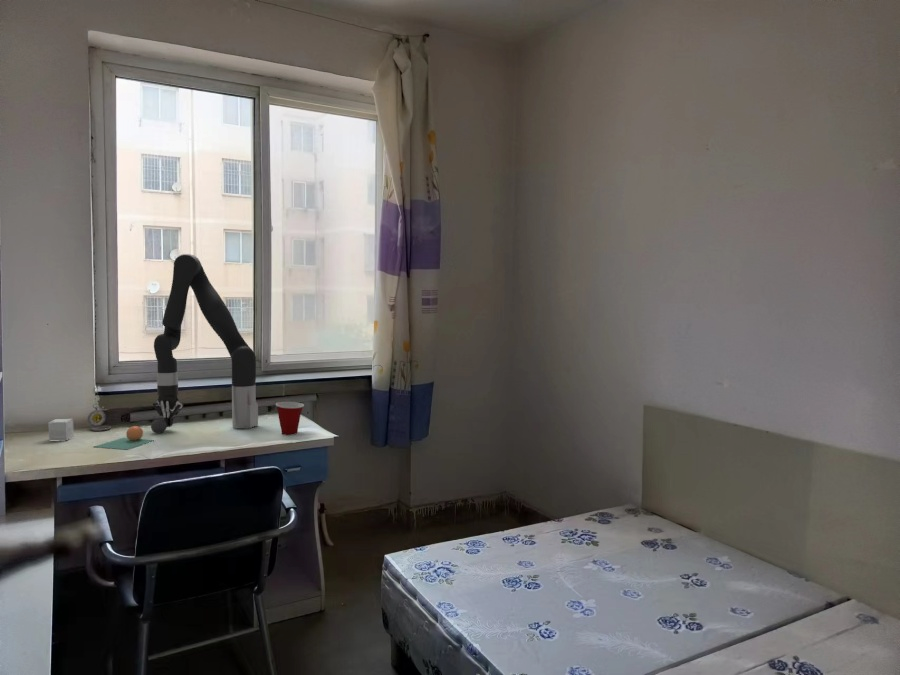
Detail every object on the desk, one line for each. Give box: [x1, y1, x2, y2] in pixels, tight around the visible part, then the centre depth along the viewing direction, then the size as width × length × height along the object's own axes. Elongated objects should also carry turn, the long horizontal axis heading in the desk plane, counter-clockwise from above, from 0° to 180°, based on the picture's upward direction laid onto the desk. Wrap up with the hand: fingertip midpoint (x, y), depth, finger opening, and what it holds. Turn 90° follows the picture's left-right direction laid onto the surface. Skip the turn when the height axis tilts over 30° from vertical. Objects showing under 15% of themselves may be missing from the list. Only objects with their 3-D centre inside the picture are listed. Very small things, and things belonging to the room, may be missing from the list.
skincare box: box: [47, 418, 75, 442], centre depth 223 cm, size 6×6×7 cm
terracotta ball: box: [125, 425, 144, 441], centre depth 222 cm, size 6×6×6 cm
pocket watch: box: [87, 403, 112, 432], centre depth 240 cm, size 8×8×10 cm
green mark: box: [93, 437, 155, 451], centre depth 218 cm, size 14×14×1 cm
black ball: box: [150, 418, 168, 434], centre depth 234 cm, size 6×6×6 cm
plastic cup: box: [275, 401, 305, 435], centre depth 236 cm, size 11×11×12 cm
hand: (168, 426), depth 240 cm, fingers closed
